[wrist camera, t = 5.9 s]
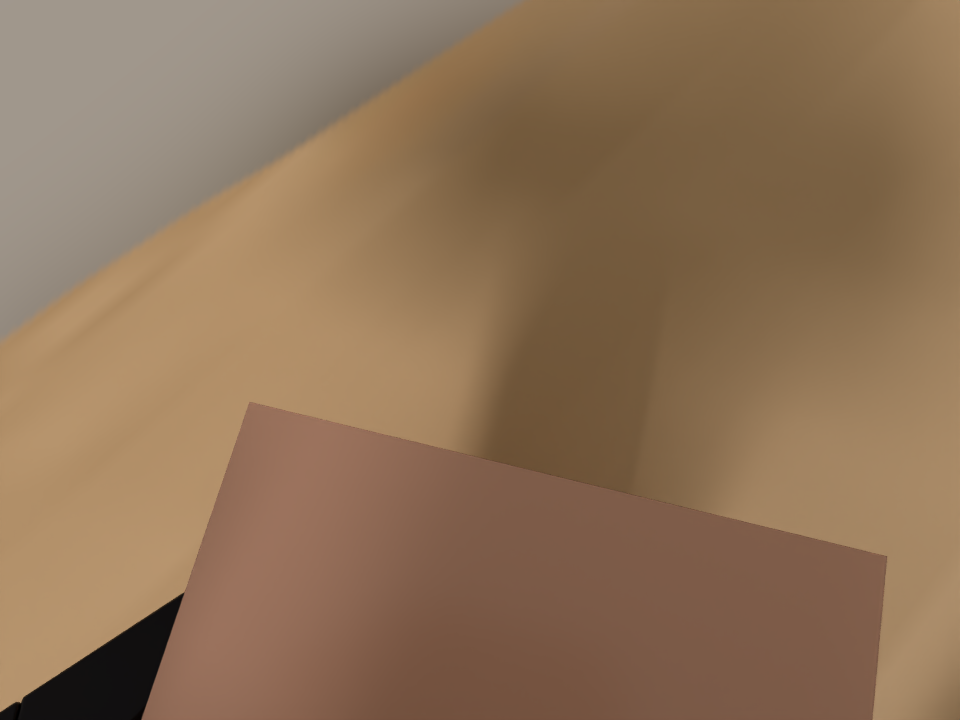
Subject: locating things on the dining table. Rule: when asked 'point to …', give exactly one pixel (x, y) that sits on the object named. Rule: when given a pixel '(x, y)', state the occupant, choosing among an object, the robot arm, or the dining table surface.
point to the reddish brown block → (499, 596)
